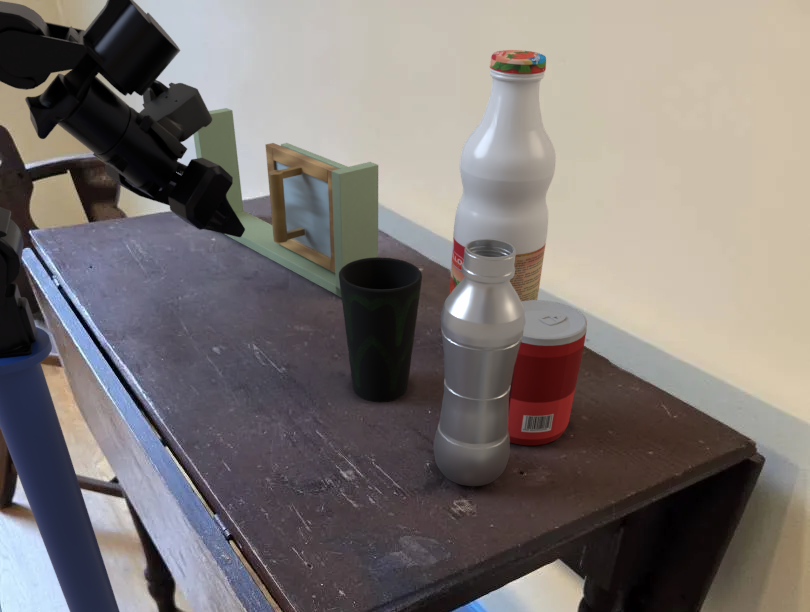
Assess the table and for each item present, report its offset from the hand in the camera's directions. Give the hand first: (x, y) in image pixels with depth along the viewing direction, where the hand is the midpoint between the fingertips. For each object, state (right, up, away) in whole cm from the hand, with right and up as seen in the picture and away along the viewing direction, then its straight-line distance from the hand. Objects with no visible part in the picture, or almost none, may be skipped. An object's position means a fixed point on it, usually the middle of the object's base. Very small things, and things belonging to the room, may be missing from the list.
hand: (220, 221), depth 90 cm
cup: (+19, -21, -10) cm, 30 cm away
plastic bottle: (+27, -31, -20) cm, 46 cm away
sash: (+7, -1, +10) cm, 12 cm away
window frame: (+5, +2, +16) cm, 17 cm away
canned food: (+33, -26, -14) cm, 44 cm away
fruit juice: (+31, -15, -2) cm, 34 cm away
